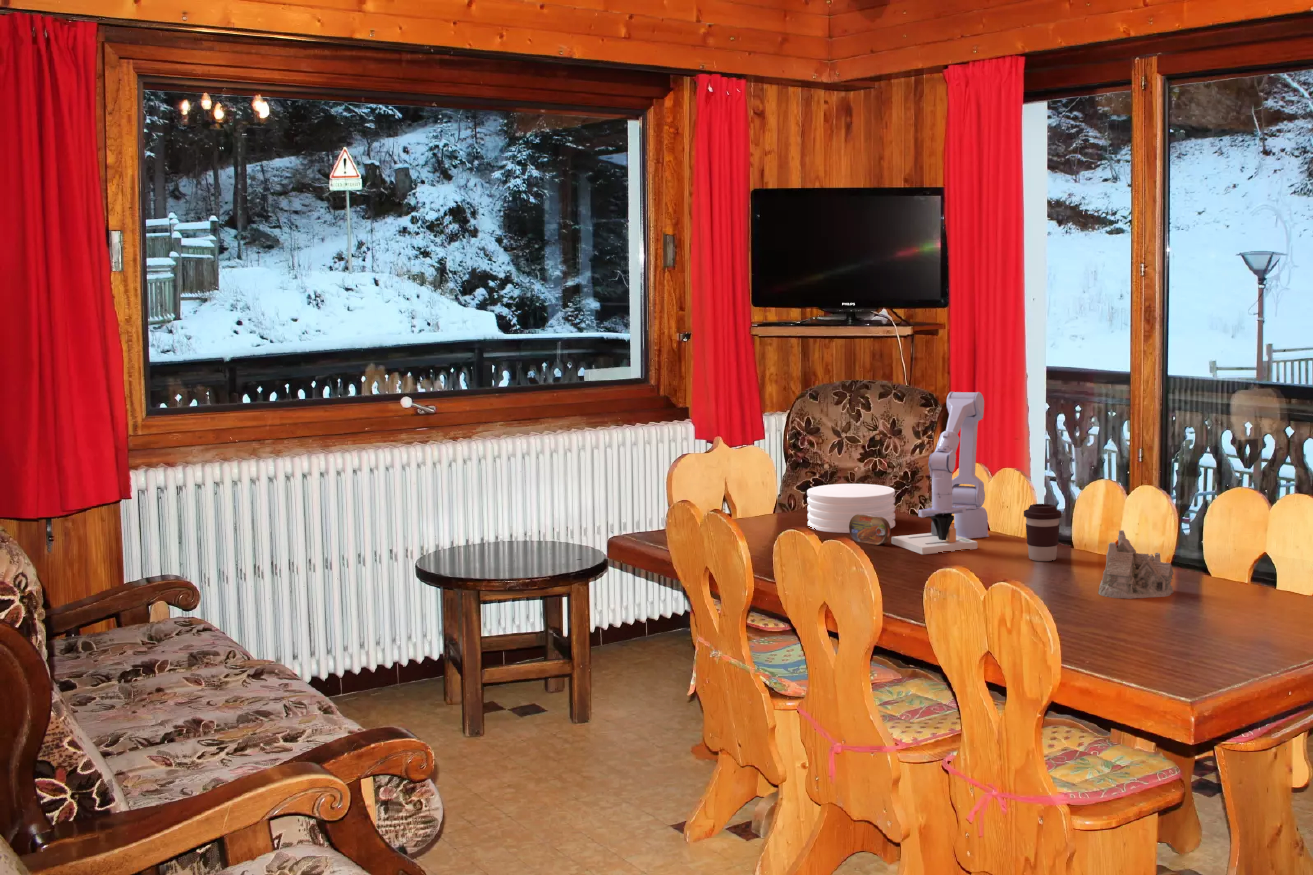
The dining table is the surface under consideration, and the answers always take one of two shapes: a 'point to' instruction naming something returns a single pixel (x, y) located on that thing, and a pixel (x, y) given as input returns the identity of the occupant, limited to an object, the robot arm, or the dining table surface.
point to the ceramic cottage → (1134, 573)
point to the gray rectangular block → (933, 529)
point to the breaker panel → (932, 543)
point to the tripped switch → (951, 535)
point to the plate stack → (848, 505)
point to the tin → (869, 529)
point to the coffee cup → (1042, 531)
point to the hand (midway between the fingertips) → (942, 539)
